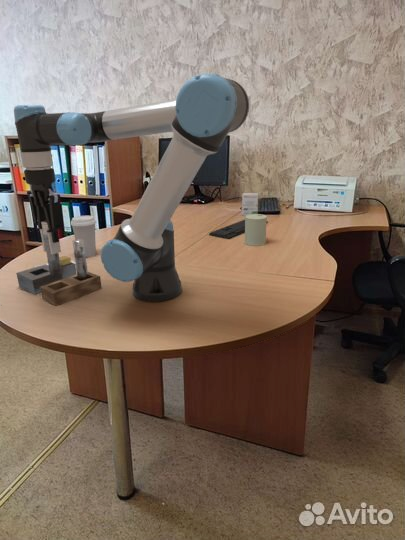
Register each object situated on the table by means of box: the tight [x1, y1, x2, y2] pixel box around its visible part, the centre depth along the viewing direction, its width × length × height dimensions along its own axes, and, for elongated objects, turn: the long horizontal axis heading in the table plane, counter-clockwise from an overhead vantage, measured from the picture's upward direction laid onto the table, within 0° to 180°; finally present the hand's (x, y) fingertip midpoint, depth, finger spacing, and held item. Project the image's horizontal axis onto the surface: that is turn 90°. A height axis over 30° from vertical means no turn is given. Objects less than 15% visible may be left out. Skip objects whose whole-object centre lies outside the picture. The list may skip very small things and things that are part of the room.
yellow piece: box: [59, 255, 72, 267], centre depth 131 cm, size 3×3×6 cm
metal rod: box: [41, 220, 62, 276], centre depth 111 cm, size 3×3×16 cm
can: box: [244, 213, 268, 247], centre depth 164 cm, size 9×9×12 cm
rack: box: [40, 271, 102, 307], centre depth 119 cm, size 16×7×4 cm, turn 140°
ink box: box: [241, 192, 259, 217], centre depth 212 cm, size 8×5×12 cm, turn 82°
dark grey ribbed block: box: [208, 219, 269, 240], centre depth 187 cm, size 35×11×2 cm, turn 142°
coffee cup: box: [70, 215, 97, 258], centre depth 152 cm, size 10×10×15 cm
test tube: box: [72, 239, 89, 281], centre depth 120 cm, size 3×3×16 cm
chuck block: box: [16, 262, 77, 296], centre depth 127 cm, size 10×16×5 cm, turn 141°
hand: (52, 251), depth 112 cm, fingers closed on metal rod, 3 cm apart
